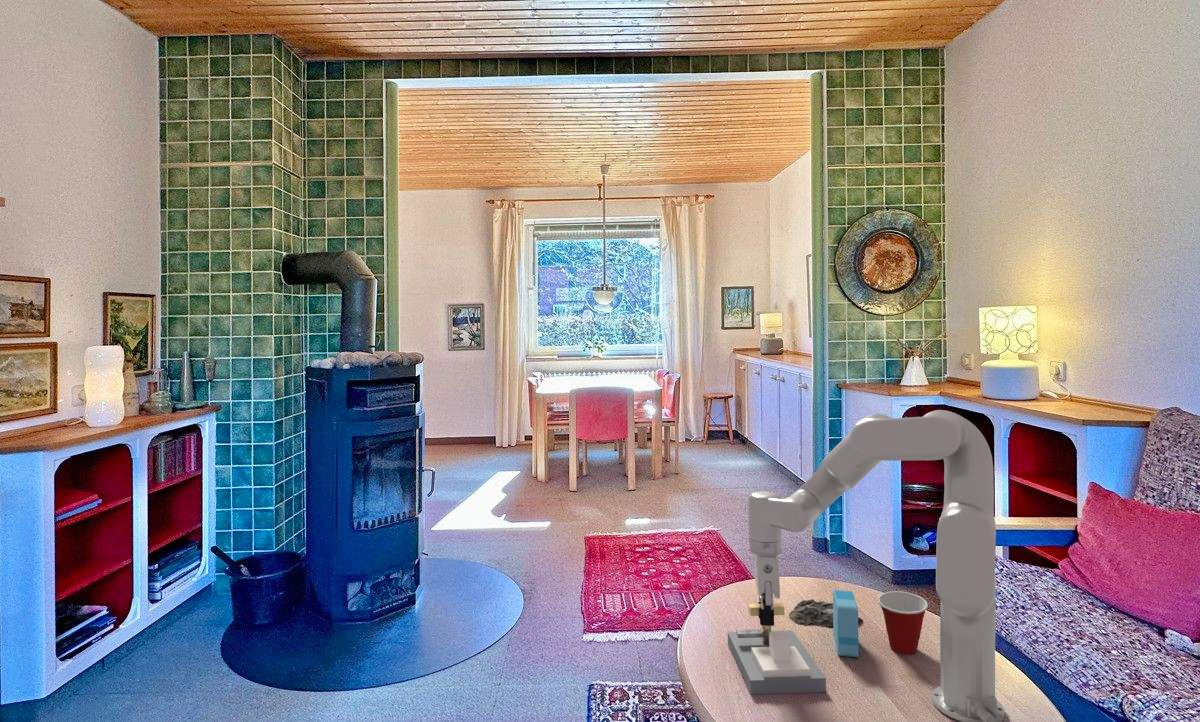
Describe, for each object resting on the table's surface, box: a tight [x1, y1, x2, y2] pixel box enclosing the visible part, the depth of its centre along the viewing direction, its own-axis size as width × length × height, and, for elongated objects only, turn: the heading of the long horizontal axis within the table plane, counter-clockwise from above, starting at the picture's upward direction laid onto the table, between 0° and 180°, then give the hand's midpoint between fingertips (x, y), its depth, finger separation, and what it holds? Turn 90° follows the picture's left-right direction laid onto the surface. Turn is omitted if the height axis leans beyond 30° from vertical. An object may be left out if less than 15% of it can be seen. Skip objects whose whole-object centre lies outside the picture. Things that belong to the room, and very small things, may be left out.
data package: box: [832, 589, 860, 658], centre depth 151 cm, size 12×4×12 cm, turn 165°
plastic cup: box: [877, 590, 929, 656], centre depth 149 cm, size 11×11×12 cm
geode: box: [788, 599, 863, 628], centre depth 169 cm, size 19×4×15 cm
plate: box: [727, 629, 827, 695], centre depth 143 cm, size 22×16×3 cm
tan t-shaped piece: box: [735, 602, 785, 644], centre depth 148 cm, size 11×2×9 cm, turn 91°
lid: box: [751, 632, 810, 677], centre depth 138 cm, size 10×10×6 cm
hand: (766, 621), depth 148 cm, fingers closed on tan t-shaped piece, 2 cm apart
